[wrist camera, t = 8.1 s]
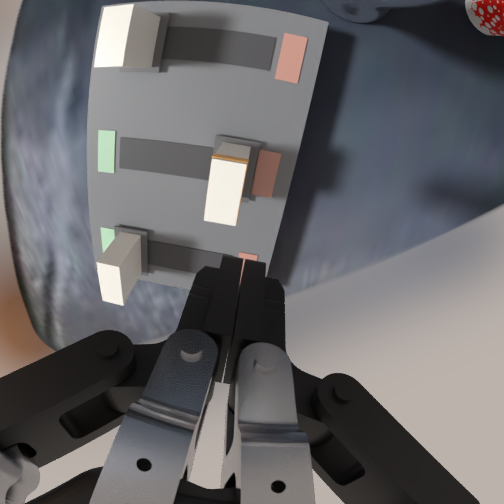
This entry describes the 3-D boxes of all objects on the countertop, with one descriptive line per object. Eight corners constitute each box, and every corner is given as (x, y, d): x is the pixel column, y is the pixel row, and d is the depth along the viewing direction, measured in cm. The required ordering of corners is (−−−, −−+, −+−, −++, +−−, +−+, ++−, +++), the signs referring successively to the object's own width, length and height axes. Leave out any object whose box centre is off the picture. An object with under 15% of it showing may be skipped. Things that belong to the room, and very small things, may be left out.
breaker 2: (147, 231, 25) (126, 264, 21) (148, 274, 27) (130, 310, 23) (115, 225, 25) (89, 256, 20) (118, 268, 27) (97, 302, 23)
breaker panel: (321, 28, 18) (328, 22, 15) (260, 282, 31) (259, 302, 29) (118, 11, 17) (101, 5, 14) (107, 254, 30) (95, 270, 28)
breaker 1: (170, 12, 15) (144, -3, 11) (159, 72, 18) (130, 72, 13) (130, 14, 15) (97, 2, 11) (120, 72, 17) (85, 74, 13)
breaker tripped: (260, 142, 20) (258, 159, 16) (248, 201, 23) (243, 233, 19) (216, 134, 20) (202, 150, 16) (207, 194, 23) (193, 224, 19)
